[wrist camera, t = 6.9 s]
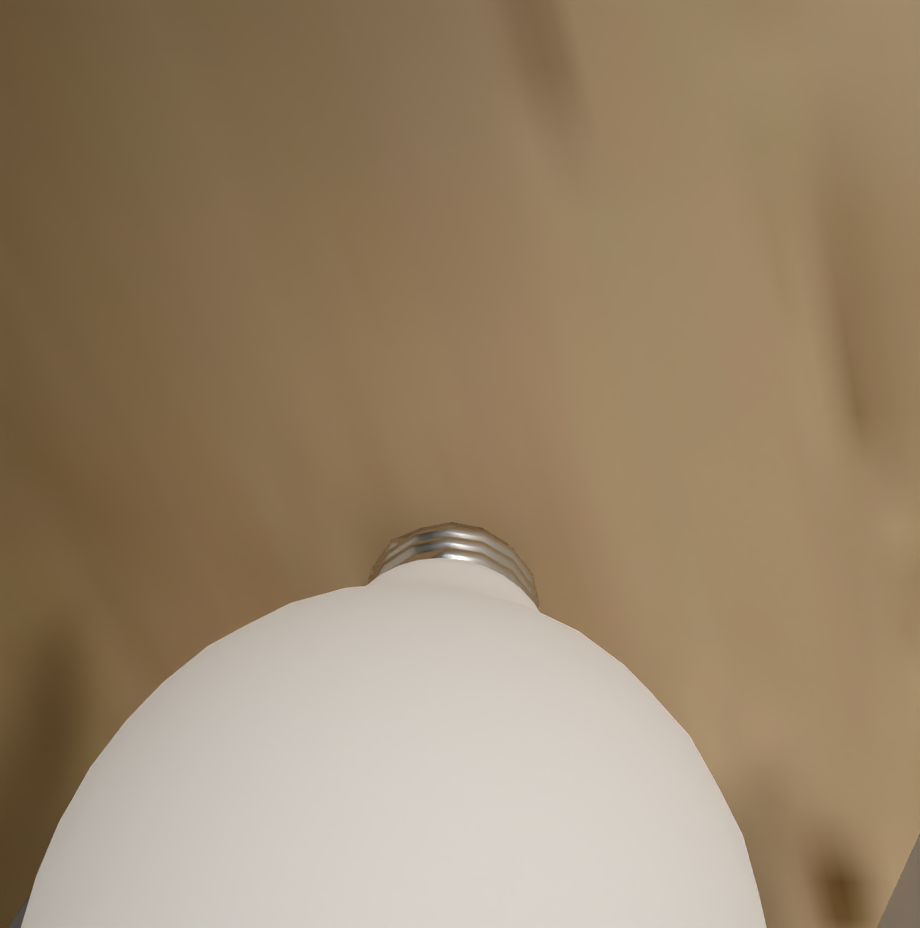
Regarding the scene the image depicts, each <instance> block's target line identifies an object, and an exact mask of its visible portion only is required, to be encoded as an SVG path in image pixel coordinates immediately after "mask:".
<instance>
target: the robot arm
mask: <svg viewBox="0 0 920 928" xmlns="http://www.w3.org/2000/svg"><path fill="white" fill-rule="evenodd" d="M877 928H920V835H919V837H918V839H917V841H916V843H915V845H914V848H913V850H912V852H911V854H910V856H909V858H908V861H907V863H906V865H905V867H904V869H903V872H902V874H901V876H900V878H899V880H898V882H897V885H896V887H895V889H894V891H893V893H892V895H891V898H890V900H889V902H888V904H887V906H886V909H885V911H884V913H883V915H882V917H881V919H880V922H879V924H878V926H877Z"/></svg>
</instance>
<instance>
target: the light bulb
mask: <svg viewBox="0 0 920 928" xmlns="http://www.w3.org/2000/svg"><path fill="white" fill-rule="evenodd" d="M538 608H539V601H538V596H537V592H536V587H535V582H534V578H533V574H532V573H531V572H530V570H529V569H528V568H527V566H526V565H525V564H524V562H523V561H522V560H521V558H520V557H519V556H518V554H517V553H516V552H515V550H514V549H513V548H512V547H510V546H509V545H508V544H507V543H506V542H504V541H502V540H501V539H499V538H497V537H496V536H494V535H493V534H491V533H489V532H488V531H486V530H484V529H483V528H480V527H474V526H469V525H464V524H458V523H453V522H451V523H445V524H440V525H435V526H429V527H424V528H420V529H418V530H415V531H413V532H411V533H408V534H406V535H403V536H401V537H398V538H396V539H393V540H391V541H390V542H389V544H388V545H387V547H386V548H385V550H384V551H383V553H382V554H381V556H380V558H379V559H378V561H377V562H376V564H375V565H374V567H373V572H372V574H371V576H370V577H369V582H368V585H367V586H361V587H349V588H343V589H339V590H336V591H332V592H328V593H325V594H321V595H318V596H314V597H310V598H307V599H303V600H300V601H296V602H292V603H289V604H287V605H285V606H283V607H281V608H279V609H277V610H275V611H273V612H271V613H269V614H267V615H265V616H263V617H261V618H259V619H257V620H255V621H253V622H252V623H250V624H248V625H246V626H244V627H242V628H240V629H238V630H236V631H234V632H232V633H231V634H229V635H227V636H225V637H223V638H222V639H220V640H218V641H216V642H214V643H212V644H211V645H209V646H207V647H206V648H205V649H203V650H202V651H201V652H200V653H198V654H197V655H196V656H195V657H193V658H192V659H191V660H190V661H189V662H187V663H186V664H185V665H184V666H182V667H181V668H180V669H179V670H177V671H176V672H175V673H174V674H173V675H171V676H170V677H169V678H168V679H166V680H165V681H164V682H163V683H162V684H161V685H160V686H159V687H158V688H157V689H156V690H155V691H154V692H153V693H152V694H151V695H150V696H149V697H148V698H147V699H146V700H145V701H144V702H143V703H142V704H141V705H140V706H139V708H138V709H137V710H136V711H135V712H134V713H133V714H132V715H131V716H130V717H129V718H128V719H127V720H126V721H125V723H124V724H123V725H122V726H121V728H120V729H119V730H118V732H117V733H116V734H115V736H114V737H113V738H112V739H111V741H110V742H109V743H108V745H107V746H106V747H105V749H104V750H103V751H102V752H101V754H100V755H99V756H98V758H97V759H96V760H95V762H94V763H93V764H92V766H91V767H90V769H89V770H88V772H87V774H86V776H85V777H84V779H83V781H82V783H81V784H80V786H79V788H78V790H77V791H76V793H75V795H74V797H73V798H72V800H71V802H70V804H69V805H68V807H67V809H66V811H65V812H64V814H63V816H62V818H61V819H60V821H59V823H58V825H57V828H56V830H55V832H54V835H53V837H52V840H51V842H50V844H49V847H48V849H47V852H46V854H45V856H44V859H43V861H42V863H41V866H40V868H39V871H38V873H37V875H36V879H35V882H34V885H33V889H32V892H31V895H30V899H29V902H28V905H27V909H26V912H25V915H24V919H23V922H22V925H21V928H767V927H766V923H765V918H764V914H763V910H762V905H761V901H760V897H759V892H758V888H757V885H756V881H755V878H754V874H753V870H752V867H751V863H750V859H749V856H748V852H747V848H746V845H745V841H744V838H743V835H742V833H741V831H740V829H739V827H738V825H737V823H736V821H735V819H734V817H733V815H732V813H731V811H730V809H729V807H728V805H727V803H726V801H725V799H724V797H723V795H722V793H721V791H720V789H719V787H718V785H717V784H716V782H715V780H714V778H713V776H712V775H711V773H710V771H709V769H708V768H707V766H706V764H705V762H704V760H703V759H702V757H701V755H700V753H699V752H698V750H697V748H696V746H695V744H694V743H693V741H692V739H691V737H690V736H689V735H688V733H687V732H686V731H685V730H684V729H683V728H682V727H681V726H680V724H679V723H678V722H677V721H676V720H675V719H674V718H673V717H672V716H671V714H670V713H669V712H668V711H667V710H666V709H665V708H664V707H663V706H662V704H661V703H660V702H659V701H658V700H657V699H656V698H655V697H654V695H653V694H652V693H651V692H650V691H649V690H648V689H647V688H646V687H645V686H644V685H643V684H642V683H641V682H640V681H639V680H638V679H637V678H636V677H635V676H634V674H633V673H632V672H631V671H630V670H629V669H628V668H627V667H626V666H625V665H624V664H622V663H621V662H619V661H618V660H617V659H615V658H614V657H613V656H611V655H610V654H609V653H607V652H606V651H605V650H603V649H602V648H601V647H599V646H598V645H597V644H595V643H594V642H593V641H591V640H590V639H589V638H587V637H586V636H585V635H583V634H582V633H580V632H579V631H577V630H575V629H573V628H571V627H569V626H567V625H565V624H563V623H561V622H559V621H557V620H555V619H553V618H551V617H549V616H546V615H544V614H542V613H540V612H539V609H538Z"/></svg>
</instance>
